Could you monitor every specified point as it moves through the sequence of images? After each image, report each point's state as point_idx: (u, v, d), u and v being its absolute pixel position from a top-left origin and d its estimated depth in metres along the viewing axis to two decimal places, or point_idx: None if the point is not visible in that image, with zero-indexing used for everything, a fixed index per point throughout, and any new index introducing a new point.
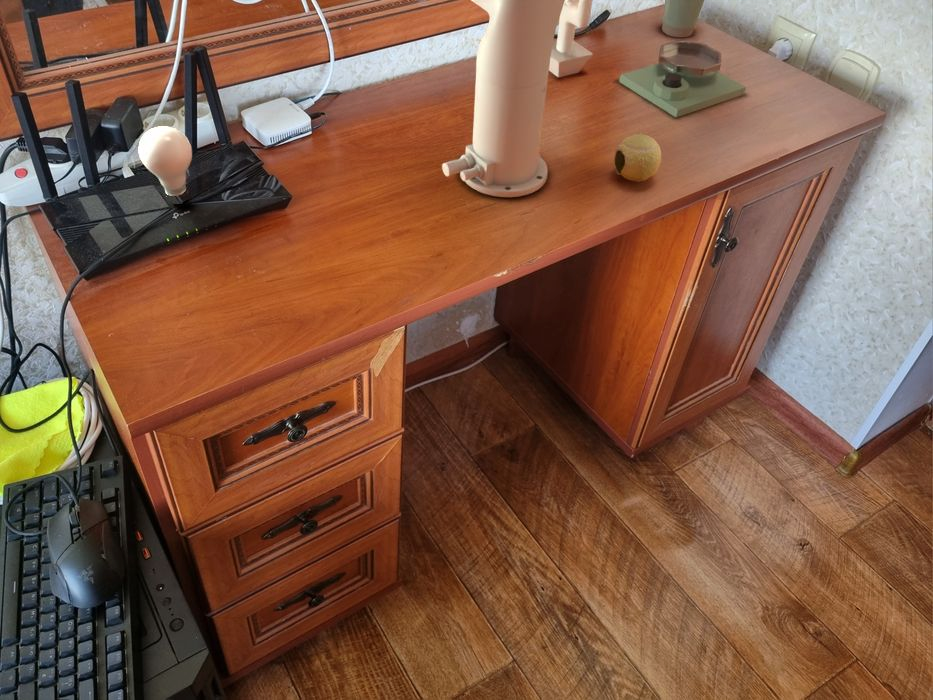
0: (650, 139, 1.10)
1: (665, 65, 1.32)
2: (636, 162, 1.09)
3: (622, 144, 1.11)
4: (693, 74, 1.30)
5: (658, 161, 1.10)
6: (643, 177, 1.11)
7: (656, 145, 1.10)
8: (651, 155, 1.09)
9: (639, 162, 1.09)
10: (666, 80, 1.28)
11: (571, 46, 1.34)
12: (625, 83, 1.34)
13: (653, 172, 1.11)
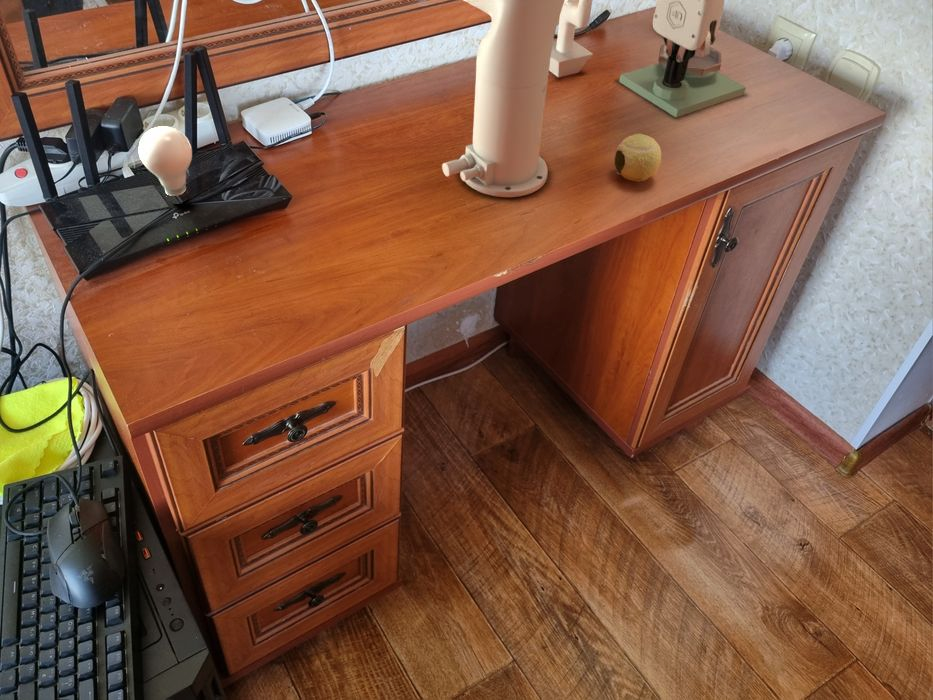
0: (650, 139, 1.10)
1: (665, 65, 1.32)
2: (636, 162, 1.09)
3: (622, 144, 1.11)
4: (693, 74, 1.30)
5: (658, 161, 1.10)
6: (643, 177, 1.11)
7: (656, 145, 1.10)
8: (651, 155, 1.09)
9: (639, 162, 1.09)
10: (665, 84, 1.29)
11: (571, 46, 1.34)
12: (625, 83, 1.34)
13: (653, 172, 1.11)
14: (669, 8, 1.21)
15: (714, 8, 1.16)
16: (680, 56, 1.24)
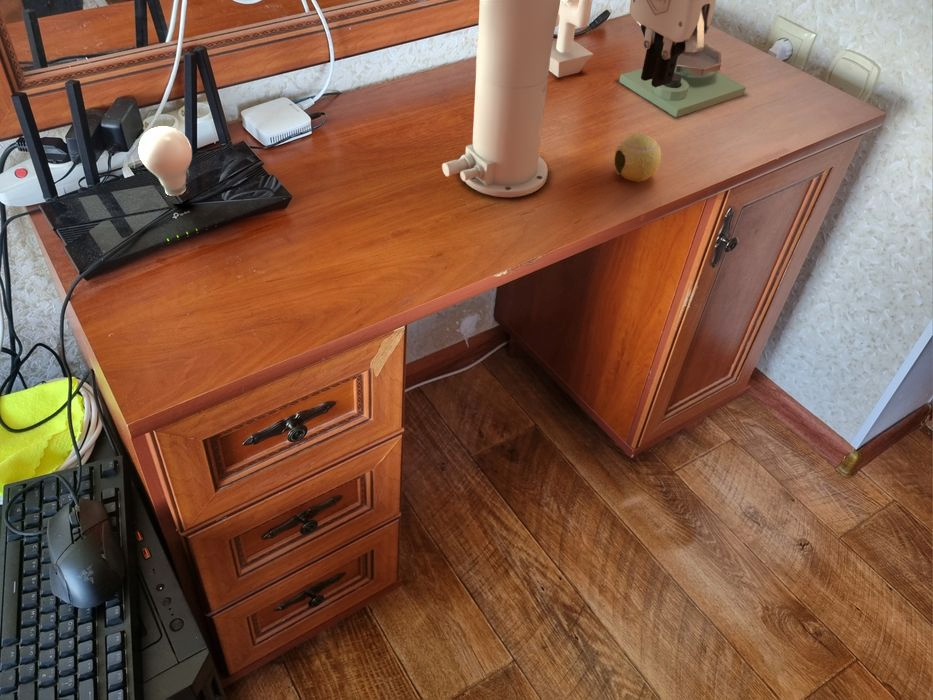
0: (650, 139, 1.10)
1: None
2: (636, 162, 1.09)
3: (622, 144, 1.11)
4: (693, 74, 1.30)
5: (658, 161, 1.10)
6: (643, 177, 1.11)
7: (656, 145, 1.10)
8: (651, 155, 1.09)
9: (639, 162, 1.09)
10: None
11: (571, 46, 1.34)
12: (625, 83, 1.34)
13: (653, 172, 1.11)
14: None
15: None
16: (666, 51, 0.98)
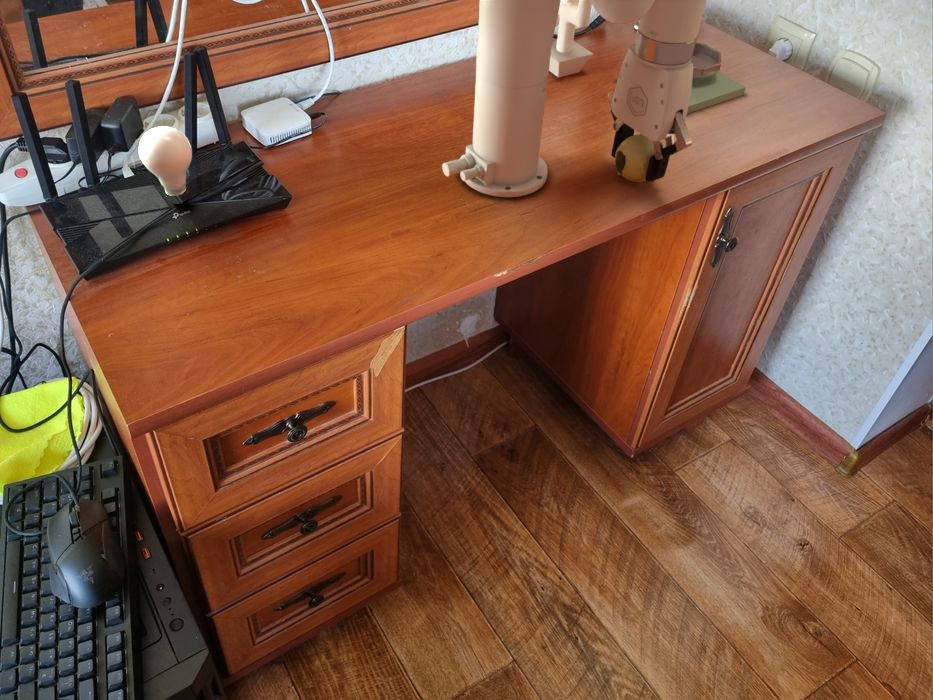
0: None
1: None
2: (637, 163, 1.09)
3: (623, 144, 1.11)
4: (693, 74, 1.30)
5: None
6: (644, 177, 1.11)
7: None
8: None
9: (640, 163, 1.09)
10: None
11: (571, 46, 1.34)
12: None
13: None
14: (629, 93, 1.05)
15: (679, 96, 1.00)
16: (658, 152, 1.06)
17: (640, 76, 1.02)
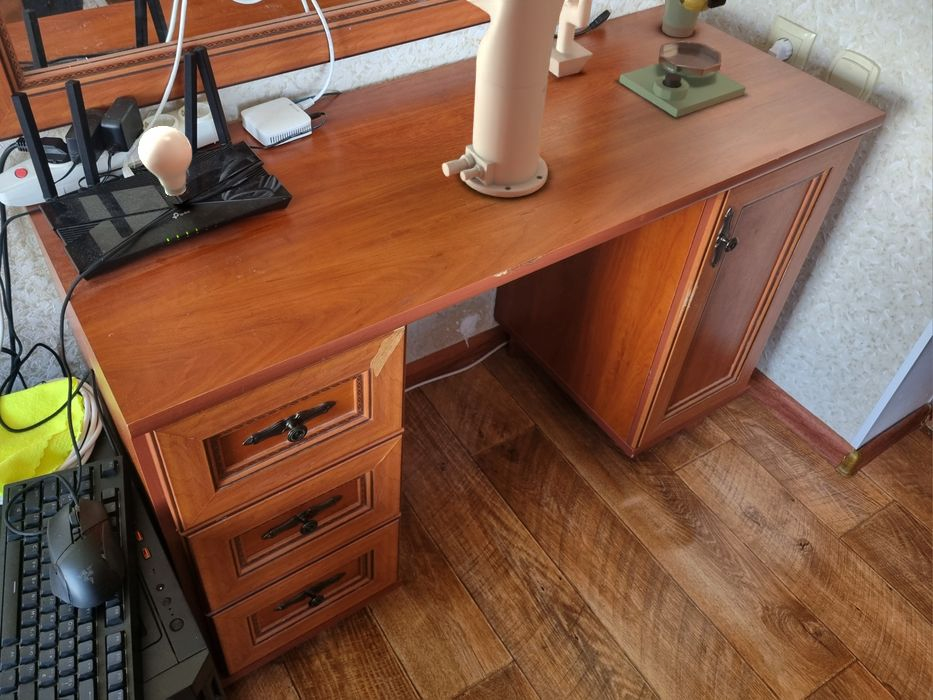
0: None
1: (665, 65, 1.32)
2: None
3: None
4: (693, 74, 1.30)
5: None
6: (706, 5, 1.15)
7: None
8: None
9: None
10: (666, 80, 1.28)
11: (571, 46, 1.34)
12: (625, 83, 1.34)
13: None
14: None
15: None
16: None
17: None
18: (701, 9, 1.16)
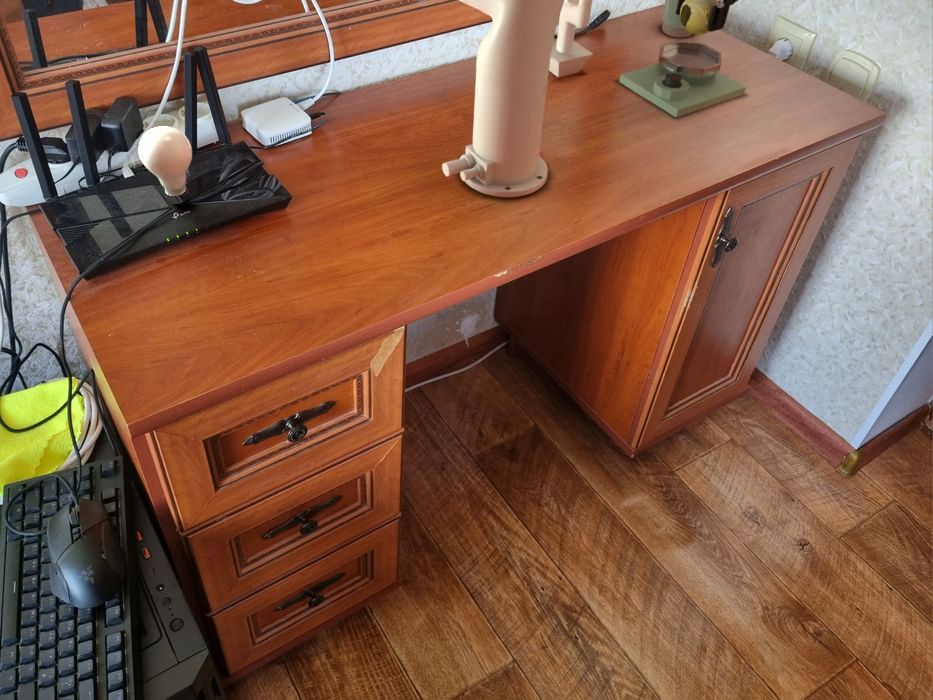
0: None
1: (665, 65, 1.32)
2: (701, 13, 1.25)
3: None
4: (693, 74, 1.30)
5: None
6: (706, 28, 1.27)
7: None
8: None
9: (704, 13, 1.25)
10: (666, 80, 1.28)
11: (571, 46, 1.34)
12: (625, 83, 1.34)
13: None
14: None
15: None
16: (720, 0, 1.23)
17: None
18: (702, 32, 1.28)
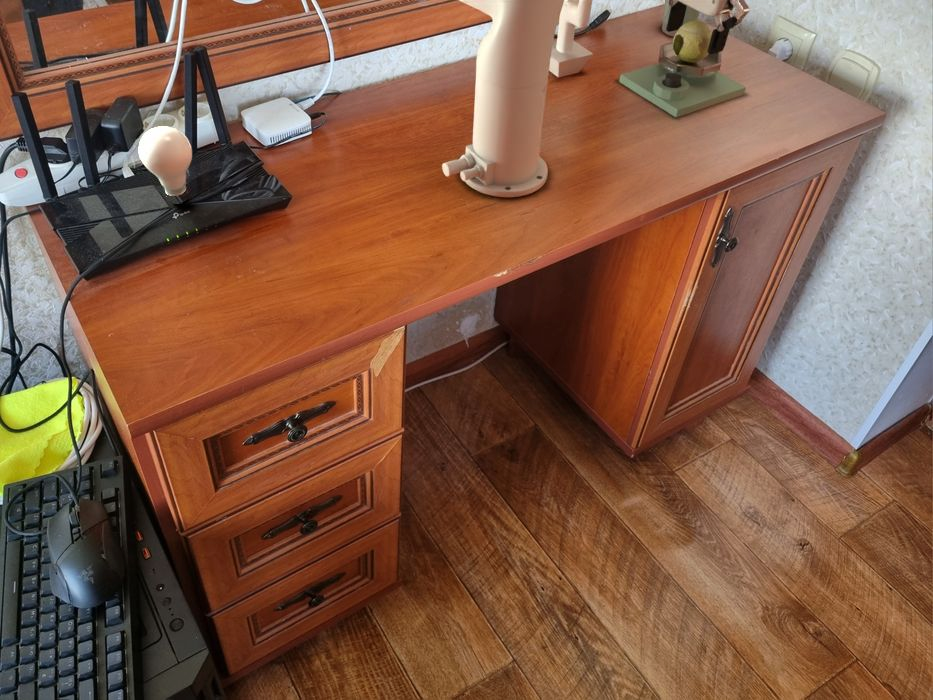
0: (705, 24, 1.29)
1: (665, 65, 1.32)
2: (693, 43, 1.29)
3: (680, 29, 1.30)
4: (693, 74, 1.30)
5: None
6: (698, 57, 1.31)
7: (710, 29, 1.30)
8: (706, 37, 1.29)
9: (696, 43, 1.29)
10: (666, 80, 1.28)
11: (571, 46, 1.34)
12: (625, 83, 1.34)
13: (707, 53, 1.31)
14: None
15: None
16: (719, 24, 1.24)
17: None
18: (694, 60, 1.32)
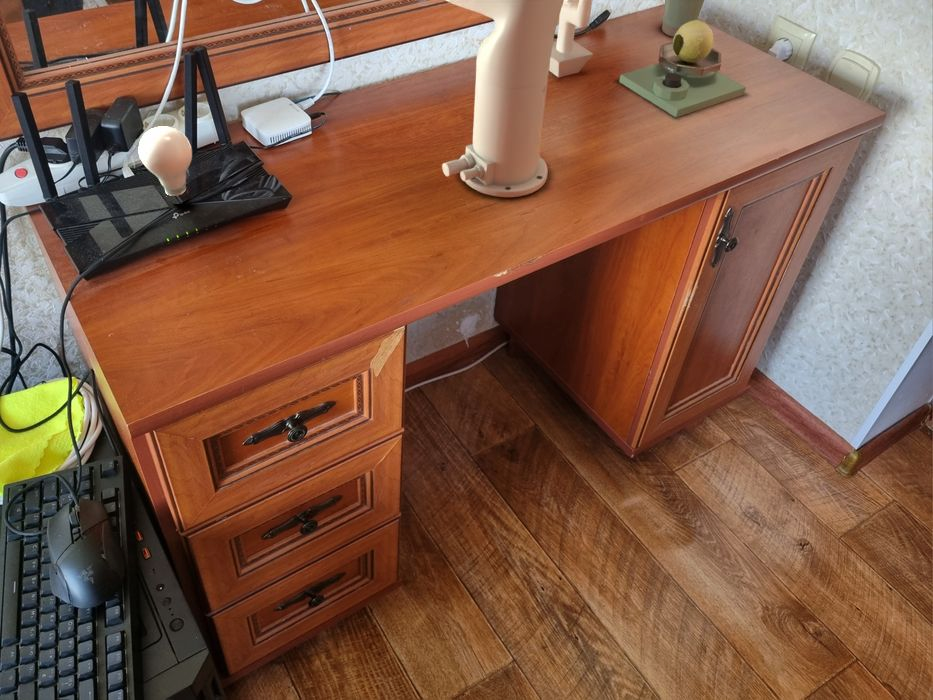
0: (705, 24, 1.29)
1: (665, 65, 1.32)
2: (693, 43, 1.29)
3: (680, 29, 1.30)
4: (693, 74, 1.30)
5: (711, 43, 1.30)
6: (698, 57, 1.31)
7: (710, 29, 1.30)
8: (706, 37, 1.29)
9: (696, 43, 1.29)
10: (666, 80, 1.28)
11: (571, 46, 1.34)
12: (625, 83, 1.34)
13: (707, 53, 1.31)
14: None
15: None
16: None
17: None
18: (694, 60, 1.32)
